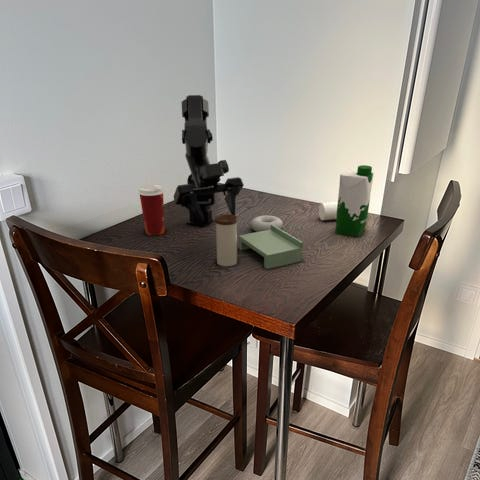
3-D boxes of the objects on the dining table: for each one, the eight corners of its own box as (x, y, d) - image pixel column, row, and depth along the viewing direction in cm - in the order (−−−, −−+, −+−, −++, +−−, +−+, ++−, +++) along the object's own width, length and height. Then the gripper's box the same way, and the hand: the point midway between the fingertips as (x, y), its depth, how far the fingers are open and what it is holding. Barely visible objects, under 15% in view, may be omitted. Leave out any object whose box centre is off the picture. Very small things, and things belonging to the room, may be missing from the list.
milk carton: (359, 238, 146) (368, 171, 136) (331, 233, 150) (337, 167, 140) (368, 229, 153) (377, 164, 142) (341, 224, 157) (347, 161, 146)
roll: (358, 220, 160) (360, 203, 157) (323, 222, 158) (325, 206, 156) (351, 214, 165) (353, 198, 162) (318, 216, 163) (319, 200, 161)
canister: (212, 264, 131) (210, 219, 124) (222, 256, 135) (221, 212, 129) (231, 268, 128) (230, 222, 122) (241, 260, 133) (241, 216, 126)
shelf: (238, 248, 140) (238, 230, 137) (271, 241, 144) (272, 224, 142) (266, 269, 128) (267, 249, 125) (301, 261, 132) (303, 242, 129)
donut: (248, 234, 150) (280, 236, 148) (248, 223, 148) (280, 225, 147) (253, 223, 159) (284, 224, 157) (253, 213, 157) (284, 214, 155)
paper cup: (172, 232, 152) (169, 187, 145) (153, 238, 147) (148, 192, 140) (156, 226, 156) (152, 182, 149) (137, 232, 152) (132, 187, 144)
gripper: (174, 153, 121) (193, 208, 119) (240, 146, 129) (260, 198, 126) (165, 178, 131) (183, 229, 129) (227, 170, 139) (245, 218, 136)
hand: (218, 218), depth 129 cm, fingers open, 9 cm apart
